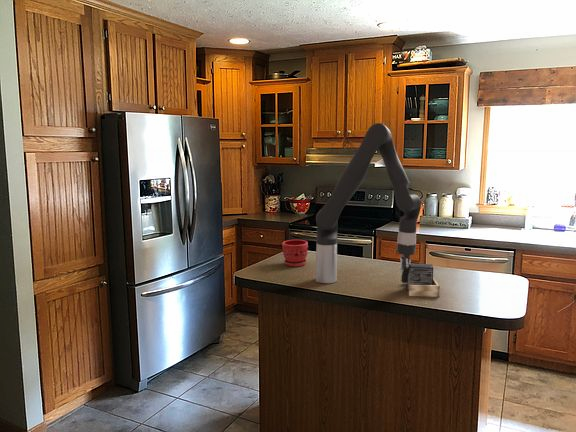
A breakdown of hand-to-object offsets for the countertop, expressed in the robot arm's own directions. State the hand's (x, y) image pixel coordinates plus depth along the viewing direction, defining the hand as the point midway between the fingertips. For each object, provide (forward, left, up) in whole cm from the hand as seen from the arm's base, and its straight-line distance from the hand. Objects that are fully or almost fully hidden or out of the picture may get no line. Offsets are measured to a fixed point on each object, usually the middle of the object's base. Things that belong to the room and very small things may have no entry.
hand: (403, 282), depth 196 cm
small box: (+7, +1, -3) cm, 7 cm away
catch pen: (+7, 0, -3) cm, 7 cm away
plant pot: (-50, +38, -3) cm, 63 cm away
